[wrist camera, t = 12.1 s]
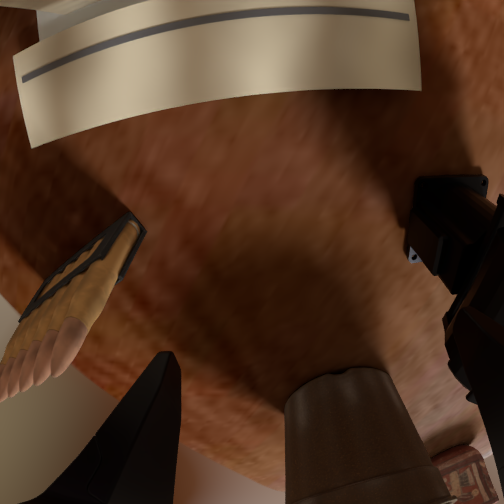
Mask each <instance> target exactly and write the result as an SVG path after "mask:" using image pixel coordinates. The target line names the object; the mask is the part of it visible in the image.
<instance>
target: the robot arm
mask: <svg viewBox="0 0 504 504" xmlns="http://www.w3.org/2000/svg"><path fill="white" fill-rule="evenodd" d="M482 181H483V183H482ZM423 182H424V185H423V186H422V187H421V184H422V183H423ZM481 183H482V184H481ZM487 189H488V178H487V177H486V176H484V175H482V174H478V175H441V176H421V177H419V178H417V179H416V181H415V187H414V198H413V208H412V209H411V212H410V221H409V229H408V237H407V242H408V248H407V255H406V256H407V259H408V260H409V262H411V263H416V262H423V263H424V264H425V266H426V267H427V268H428V270H429V271H430V272H431V273H432V275H433V276H439V278H440V279H441V280H442V282H443V283H444V284H445V286H446V287H447V288H448V290H449V291H450V293H451V294H452V295H455V294H457V296H456V298H455V300H454V302H453V303H452V305H451V307H450V309H449V311H448V312H446V313H445V315H444V317H443V318H442V321H443V326H444V331H445V347H446V350H447V353H448V356H449V359H450V360H449V361H448V367H449V369H450V370H451V372H452V373H453V375H454V376H455V378H456V379H457V380H458V381H459V382H460V383H461V384H462V385H463V386H464V387H465V388H466V389H468V390H469V391H470V392H469V393H468V394H467V395H466V399H467V400H468V401H469V402H472V403H474V404H477V405H478V408H479V411H480V413H481V416H482V419H483V422H484V425H485V428H486V432H487V435H488V438H489V441H490V445H491V448H492V452H493V455H494V459H495V463H496V466H497V470H498V475H499V479H500V483H501V487H502V492H503V496H504V195H503V194H499V197H498V200H497V206H496V205H494V204H493V203H492V202H490V201H489V200H488V199H486V195H487ZM414 254H415V255H414ZM413 255H414V256H413ZM412 256H413V257H412ZM180 426H181V369H180V366H179V364H178V362H177V360H176V357H175V355H174V353H173V352H172V351H161V352H159V353H157V355H156V356H155V357H154V358H153V360H152V361H151V362H150V364H149V365H148V366H147V367H146V369H145V370H144V371H143V373H142V374H141V375H140V376H139V378H138V379H137V380H136V382H135V383H134V384H133V385H132V387H131V388H130V389H129V391H128V392H127V393H126V395H125V396H124V397H123V398H122V400H121V401H120V402H119V404H118V405H117V407H116V408H115V409H114V410H113V411H112V413H111V414H110V415H109V417H108V418H107V419H106V421H105V422H104V423H103V425H102V426H101V427H100V429H99V430H98V431H97V432H96V434H95V435H96V436H93V438H92V439H91V440H90V441H89V443H88V444H87V445H86V447H85V448H84V449H83V450H82V451H81V453H80V454H79V455H78V456H77V457H76V459H75V460H74V461H73V462H72V463H71V464H70V465H69V466H68V467H67V468H66V469H65V470H64V472H63V473H62V474H61V475H60V476H59V477H58V478H57V479H56V480H55V481H54V482H53V483H52V484H51V485H50V486H49V487H48V488H47V489H46V490H45V491H44V492H43V493H42V494H40V495H39V496H37V497H36V498H34V499H31V500H29V501H25V502H22V503H19V504H173V496H174V485H175V474H176V463H177V454H178V444H179V435H180Z"/></svg>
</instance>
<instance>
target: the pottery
mask: <svg viewBox="0 0 504 504" xmlns="http://www.w3.org/2000/svg"><path fill="white" fill-rule="evenodd" d="M430 460H431V462H432V464H433V466H434V467H437V468H438V469H439V471H440V473H441V475H442V477H443V479H444V482H445V484H446V486H447V488H448V490H449V492H450V494H451V496H452V495H455V496H456V497H457V501H456V502H455V503H453V504H495V503H497V502H498V501H499V499H498V495H497V493H496V491H495V489H494V487H493V484H492V482H491V479H490V477H489V475H488V471H487V468H486V465H485V462H484V459H483V457H482V455H481V454H480V452H479V451H478V450H476V449H475V448H474V447H471V446H468V445H459V446H456V447H453V448H451V449H448V450H446V451H444V452H442V453H440V454H438V455H436V456H435V457H433V458H431V459H430Z"/></svg>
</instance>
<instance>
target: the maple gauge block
mask: <svg viewBox="0 0 504 504" xmlns="http://www.w3.org/2000/svg"><path fill="white" fill-rule="evenodd" d="M98 1H101V0H0V6H5V7H15V8H24V9H31V10H38V11H44V12H50V13H56V14H62V15H67V14H69V13H71V12H74V11H76V10H78V9H81V8H83V7H86V6H88V5H91V4H93V3H96V2H98Z"/></svg>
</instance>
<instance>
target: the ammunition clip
mask: <svg viewBox="0 0 504 504" xmlns="http://www.w3.org/2000/svg"><path fill="white" fill-rule="evenodd" d="M146 233H147V231H146V230H145V229H144V228H143V226H142V225H141V224H140V223H139V222H138V220H137V219H136V218H135V217H134V216H133V214H132V213H131V212H127V213H126V214H125V215H123V216H122V217H121V218H120V219H118V220H117V221H116V222H114V223H113V224H112V225H110V226H109V227H108V228H107V229H105V230H104V231H103V232H101V233H100V234H99V235H98V236H96V237H95V238H94V239H93V240H91V241H90V242H89V243H88V244H87V245H85V246H84V247H83V248H82V249H80V250H79V251H78V252H77V253H76V254H74V255H73V256H72V257H71V258H70V259H69V260H67V261H66V262H65V263H64V264H63V265H61V266H60V267H59V268H58V269H57V270H56V271H55V272H53V273H52V274H51V275H50V276H49V277H48V278H47V279H45V281H44V282H43V284H42V285H41V286H40V288H39V289H38V291H37V292H36V294H35V295H34V297H33V298H32V300H31V302H30V303H29V305H28V306H27V308H26V309H25V311H24V313H23V314H22V316H21V317H20V319H19V321H18V322H19V323H20V324H19V326H18V327H17V329H16V331H15V332H14V334H13V336H12V338H11V339H10V341H9V343H8V345H7V347H6V350H5V353H4V356H3V358H2V361H1V363H0V402H2V401H3V400H5V399H6V398H7V397H10V398H11V397H13V396H14V395H16V394H17V393H18V392H19V391H20V392H24V391H26V390H27V389H29V388H30V387H31V386H32V384H33V383H34V385H35V386H38V385H40V384H41V383H43V381H45V380H46V379H47V378H48V376H49V375H50V374H51V376H52V377H53V378H56V377H57V376H59V375H60V374H62V373H63V372H64V371H65V370H66V368H67V367H68V366H69V365H70V363H71V362H72V361H73V359H74V358H75V356H76V354H77V353H78V351H79V349H80V347H81V346H82V343H83V341H84V339H85V337H86V335H87V334H88V332H89V330H90V328H91V326H92V324H93V323H94V322H95V320H96V319H97V318H98V317H99V315H100V313H101V312H102V310H103V308H104V306H105V304H106V301H107V299H108V297H109V295H110V293H111V291H112V289H113V287H114V285H116V284H117V283H119V282H120V281H122V280H123V278H124V276H125V274H126V272H127V270H128V268H129V266H130V264H131V262H132V260H133V258H134V256H135V254H136V252H137V250H138V248H139V246H140V244H141V242H142V241H143V239H144V237H145V235H146Z"/></svg>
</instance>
